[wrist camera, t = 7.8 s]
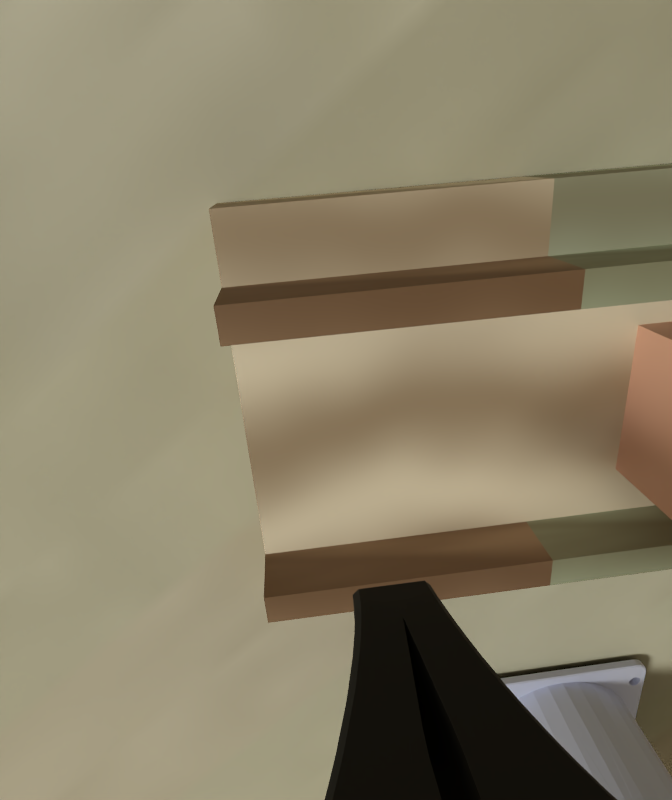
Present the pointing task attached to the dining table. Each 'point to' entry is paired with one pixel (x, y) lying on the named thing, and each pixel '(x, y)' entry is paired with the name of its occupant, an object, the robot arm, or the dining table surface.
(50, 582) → the dining table surface
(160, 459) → the dining table surface
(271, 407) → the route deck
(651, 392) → the block terracotta
